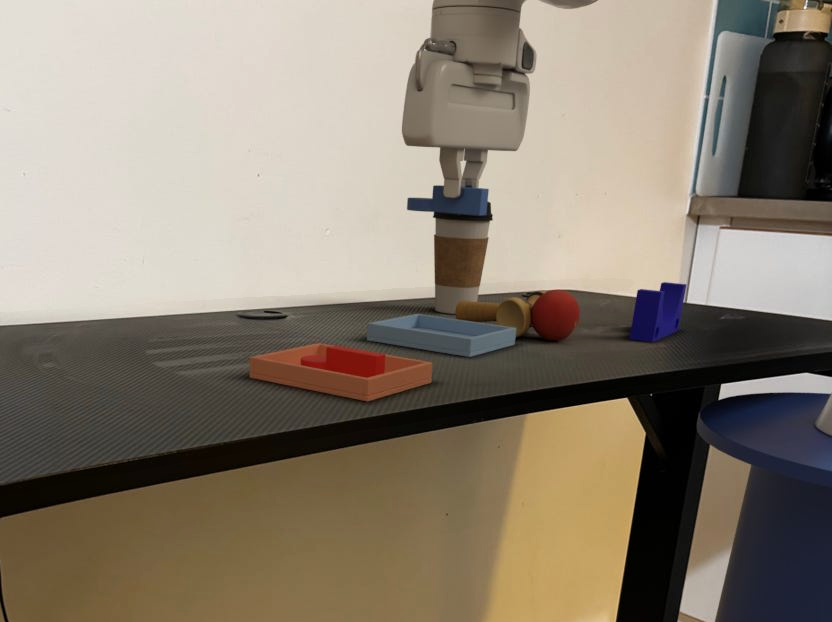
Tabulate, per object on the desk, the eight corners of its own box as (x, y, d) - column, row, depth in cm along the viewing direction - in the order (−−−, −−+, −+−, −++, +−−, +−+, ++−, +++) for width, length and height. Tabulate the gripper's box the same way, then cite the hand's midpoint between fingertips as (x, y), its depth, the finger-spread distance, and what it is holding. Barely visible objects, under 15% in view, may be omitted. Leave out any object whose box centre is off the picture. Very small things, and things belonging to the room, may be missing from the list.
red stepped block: (390, 379, 94) (391, 352, 93) (369, 385, 92) (370, 357, 90) (315, 365, 99) (315, 339, 98) (293, 370, 96) (293, 343, 95)
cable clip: (645, 326, 134) (653, 281, 131) (677, 330, 132) (686, 284, 129) (618, 337, 125) (625, 288, 122) (652, 342, 123) (661, 292, 120)
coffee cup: (473, 306, 145) (483, 197, 138) (492, 315, 137) (503, 200, 131) (419, 306, 143) (426, 195, 136) (435, 315, 136) (444, 198, 129)
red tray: (431, 382, 96) (433, 362, 95) (367, 401, 88) (368, 379, 87) (318, 362, 103) (318, 342, 102) (249, 377, 95) (249, 357, 94)
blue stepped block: (490, 215, 104) (493, 188, 103) (474, 216, 101) (477, 188, 100) (417, 209, 109) (419, 183, 107) (400, 209, 106) (402, 183, 105)
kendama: (439, 336, 128) (554, 337, 115) (444, 286, 126) (560, 281, 114) (476, 342, 133) (588, 343, 121) (480, 293, 131) (595, 290, 119)
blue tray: (514, 344, 117) (516, 327, 116) (469, 357, 109) (471, 339, 108) (416, 329, 124) (417, 313, 123) (366, 340, 116) (367, 323, 115)
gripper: (448, 34, 88) (436, 200, 94) (544, 56, 103) (528, 198, 109) (391, 35, 91) (382, 196, 97) (491, 56, 106) (479, 194, 112)
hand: (460, 197), depth 103 cm, fingers closed on blue stepped block
